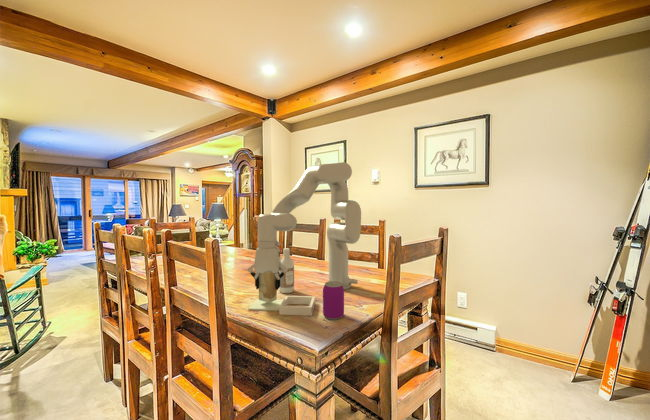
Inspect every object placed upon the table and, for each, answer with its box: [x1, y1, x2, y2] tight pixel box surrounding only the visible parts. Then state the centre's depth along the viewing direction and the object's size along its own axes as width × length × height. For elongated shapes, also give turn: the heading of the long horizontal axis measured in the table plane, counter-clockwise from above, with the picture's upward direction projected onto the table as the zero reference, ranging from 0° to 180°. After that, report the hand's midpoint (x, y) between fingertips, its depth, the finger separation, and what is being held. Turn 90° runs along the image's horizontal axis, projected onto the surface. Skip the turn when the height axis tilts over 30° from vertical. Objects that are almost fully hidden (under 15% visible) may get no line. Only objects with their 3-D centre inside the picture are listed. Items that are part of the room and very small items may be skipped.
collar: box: [278, 295, 316, 316], centre depth 108 cm, size 12×12×3 cm
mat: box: [248, 298, 284, 312], centre depth 112 cm, size 12×11×1 cm
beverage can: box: [322, 280, 345, 321], centre depth 101 cm, size 8×8×12 cm
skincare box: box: [258, 272, 278, 303], centre depth 112 cm, size 6×4×12 cm
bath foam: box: [278, 247, 295, 294], centre depth 129 cm, size 7×7×20 cm
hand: (267, 288), depth 112 cm, fingers closed on skincare box, 7 cm apart
